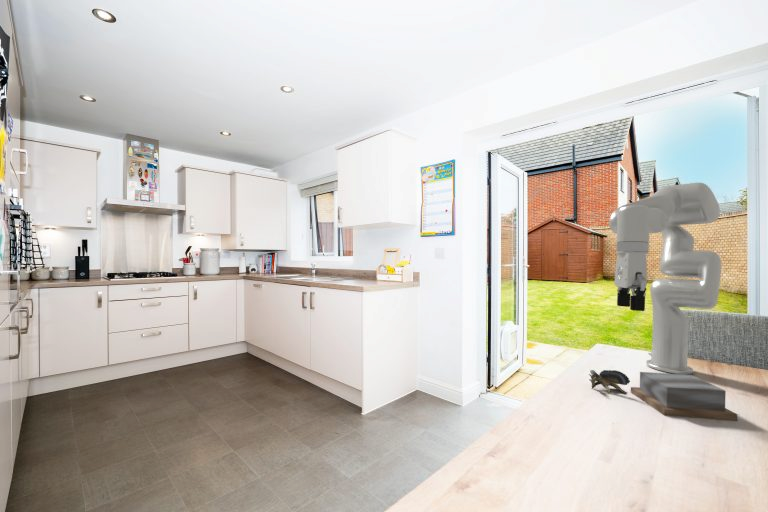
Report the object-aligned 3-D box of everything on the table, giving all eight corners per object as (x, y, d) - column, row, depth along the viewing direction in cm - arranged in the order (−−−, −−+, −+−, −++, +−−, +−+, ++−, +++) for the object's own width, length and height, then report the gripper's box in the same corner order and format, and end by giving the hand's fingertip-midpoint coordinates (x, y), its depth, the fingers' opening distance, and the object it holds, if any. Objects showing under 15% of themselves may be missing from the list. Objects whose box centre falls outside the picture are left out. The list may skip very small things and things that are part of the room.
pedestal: (630, 392, 97) (631, 369, 97) (692, 396, 95) (692, 373, 95) (664, 415, 83) (664, 389, 83) (737, 420, 81) (738, 393, 81)
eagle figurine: (597, 391, 94) (634, 389, 92) (589, 366, 98) (623, 363, 96) (592, 397, 100) (626, 395, 98) (584, 372, 104) (617, 370, 102)
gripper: (607, 249, 106) (605, 303, 106) (629, 247, 90) (626, 311, 90) (634, 250, 104) (632, 305, 104) (662, 247, 88) (660, 313, 87)
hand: (630, 308), depth 97 cm, fingers open, 9 cm apart
